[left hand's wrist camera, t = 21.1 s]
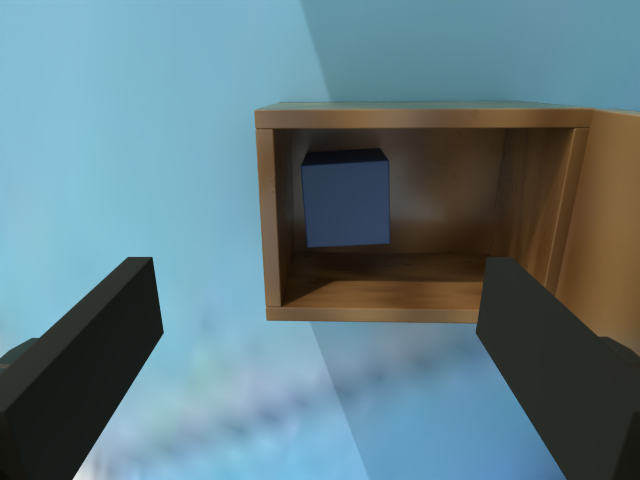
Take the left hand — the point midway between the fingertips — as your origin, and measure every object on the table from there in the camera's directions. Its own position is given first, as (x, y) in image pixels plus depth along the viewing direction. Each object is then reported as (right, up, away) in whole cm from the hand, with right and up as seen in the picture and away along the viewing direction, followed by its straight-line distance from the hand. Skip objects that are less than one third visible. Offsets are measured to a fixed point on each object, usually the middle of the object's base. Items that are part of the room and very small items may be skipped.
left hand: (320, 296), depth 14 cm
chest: (+5, +6, +16) cm, 17 cm away
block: (+2, +5, +15) cm, 16 cm away
